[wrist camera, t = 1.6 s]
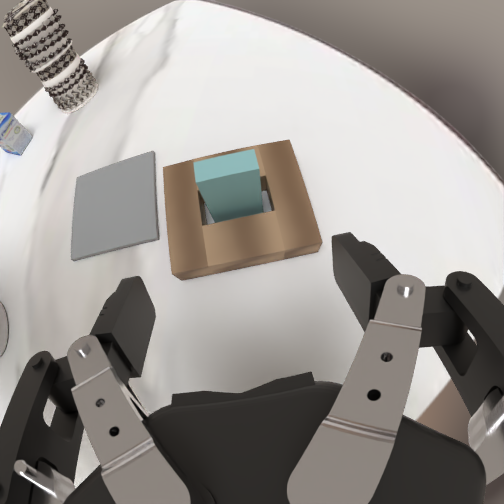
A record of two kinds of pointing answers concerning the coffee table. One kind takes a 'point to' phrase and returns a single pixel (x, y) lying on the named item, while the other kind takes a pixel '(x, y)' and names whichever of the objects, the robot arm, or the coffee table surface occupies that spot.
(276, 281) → the coffee table surface
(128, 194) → the mat
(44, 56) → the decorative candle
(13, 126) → the medicine box
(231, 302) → the coffee table surface
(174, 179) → the holder
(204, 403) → the robot arm
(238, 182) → the teal rectangular block
